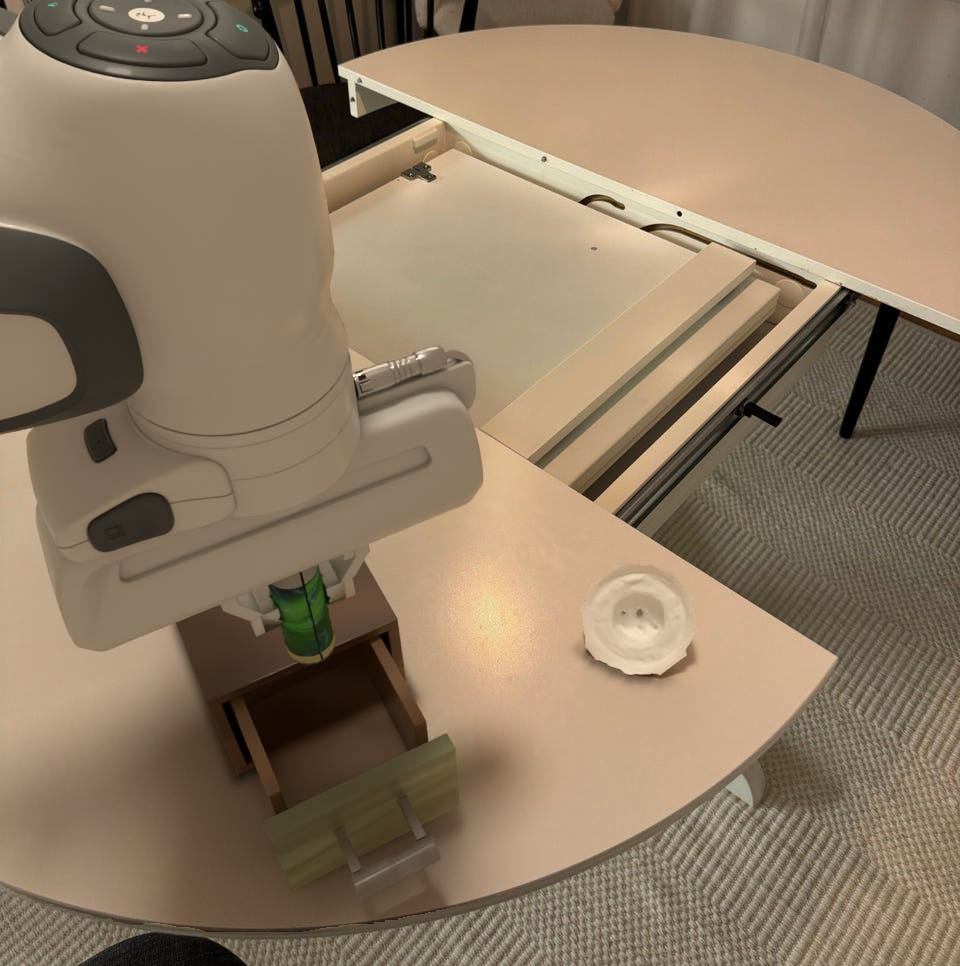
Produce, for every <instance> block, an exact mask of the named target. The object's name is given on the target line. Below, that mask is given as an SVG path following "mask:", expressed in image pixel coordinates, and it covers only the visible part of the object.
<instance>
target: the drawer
mask: <svg viewBox="0 0 960 966" xmlns="http://www.w3.org/2000/svg"><path fill="white" fill-rule="evenodd" d="M406 683H407V682H406ZM406 683H405V681H404V679H403V677H402V675H401V673H400V672H399V670H398V668H397V666H396V664H395V662H394V660H393V659H392V657H391V655H390V653H389V651H388V649H387V648H386V646H385V644H384V642H383V640H382V638H381V637H380V635H377V636H375V637H373V638H370V639H368V640H366V641H364V642H361V643H359V644H357V645H354V646H352V647H350V648H348V649H345V650H343V651H341V652H338V653H336V654H334V655H332V656H329V657H327V658H326V659H324V660H323V661H321V662H319V663H315V664H311V665H309V666H306V667H304V668H302V669H299V670H297V671H295V672H293V673H290V674H288V675H286V676H283V677H281V678H279V679H277V680H274V681H272V682H270V683H267V684H265V685H263V686H261V687H258V688H256V689H254V690H251V691H249V692H247V693H245V694H242V695H240V696H238V697H235V698H233V699H231V700H230V703H231V705H232V708H233V710H234V713H235V715H236V718H237V721H238V723H239V726H240V728H241V731H242V733H243V736H244V738H245V741H246V743H247V746H248V748H249V751H250V754H251V756H252V759H253V761H254V764H255V766H256V767H255V768H256V771H257V774H258V777H259V779H260V782H261V784H262V786H263V789H264V791H265V794H266V797H267V799H268V801H269V804H270V807H271V809H272V811H273V814H274V816H271V817H270V818H267V819H265V820H264V821H263V825H264V828H265V830H266V834H267V836H268V839H269V841H270V843H271V846H272V848H273V850H274V852H275V854H276V857H277V860H278V861H279V864H280V866H281V869H282V871H283V873H284V875H285V877H286V878H285V879H286V880H287V882H288V885H289V886H290V889H291V891H296V890H297V889H300V888H301V887H303V886H305V885H307V884H309V883H311V882H313V881H315V880H317V879H319V878H321V877H323V876H325V875H327V874H329V873H331V872H333V871H335V870H337V869H339V868H341V867H342V866H344V865H346V864H347V865H348V868H349V870H350V872H351V875H349V879H350V882H351V884H352V887H353V889H354V892H355V894H356V896H357V899H358V900H359V902H363V901H366V900H367V899H370V898H371V897H373V896H375V895H377V894H379V893H380V892H383V891H384V890H387V889H388V888H390V887H392V886H394V885H396V884H398V883H399V882H401V881H403V880H405V879H407V878H409V877H411V876H413V875H415V874H416V873H419V872H420V871H422V870H424V869H426V868H428V867H430V866H432V865H435V863H438V862H439V861H441V860H442V856H441V853H440V850H439V848H438V845H437V844H436V842H435V840H434V838H433V836H432V835H431V834H428V835H427V833H426V832H425V830H424V827H423V825H425V824H427V823H429V822H430V821H432V820H434V819H437V818H439V817H440V816H443V815H444V814H446V813H448V812H451V811H452V810H455V809H456V808H458V807H460V793H459V780H458V779H459V778H458V765H457V763H458V762H457V749H456V746H455V744H454V743H453V741H452V739H451V738H450V736H449V734H448V733H447V732H446V733H443V734H441V735H439V736H437V737H435V738H433V739H430V740H429V733H428V725H427V723H428V722H427V719H426V718H425V716H424V713H423V712H422V710H421V708H420V707H419V705H418V702H417V701H416V699H415V697H414V696H413V693H412V692H411V690H410V688H409V686H408V685H407V684H408V683H407V684H406ZM408 832H411V834H412V836H413V837H414V840H415V841H414V842H413V843H411V844H409V845H407V846H405V847H402V848H401V849H399V850H397V851H395V852H393V853H391V854H389V855H388V856H386V857H383V858H381V859H380V860H377V861H376V862H374V863H372V864H370V865H367V866H366V867H364V868H363V867H362V864H361V862H360V860H359V858H360V857H362V856H364V855H366V854H368V853H371V852H372V851H374V850H376V849H378V848H380V847H382V846H384V845H386V844H388V843H390V842H392V841H393V840H395V839H397V838H399V837H402V836H403V835H405V834H407V833H408Z"/></svg>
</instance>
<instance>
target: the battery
mask: <svg viewBox="0 0 960 966" xmlns="http://www.w3.org/2000/svg"><path fill="white" fill-rule="evenodd" d="M268 587H269V591H270V594H271V597H272V598H273V599H274V601H275V602H276V604H277V606H278V608H279V612H280V615H281V616H280V617H281V619H282V622H283V625H281V626H280V628H281V631H282V635H283V638H284V641H285V645H286V648H287V651H288V653H289V655H290V657H291V658H292V659H293V660H295V661H296V662H298V663H301V664H315V663H319V662H321V661H323V660H324V659H326V658H327V657H328V656H329V655H330V654H331V653H332V651H333V649H334V647H335V635H334V631H333V626H332V622H331V617H330V613H329V608H328V604H327V600H326V596H325V591H324V587H323V583H322V577H321V573H320V569H319V564H318V565H316V566H314V567H311V568H309V569H306V570H304V571H301V572H299V573H296V574H294V575H292V576H289V577H287V578H284V579H282V580H279V581H277V582H274V583H272V584H269V585H268Z"/></svg>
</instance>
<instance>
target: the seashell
mask: <svg viewBox="0 0 960 966" xmlns="http://www.w3.org/2000/svg"><path fill="white" fill-rule="evenodd" d="M588 588H589V591H588V593H587V595H586V598H585V599H584V601H583V604H582V605H581V607H580V615H581V617H582V619H581V622H582V628H583V633H584V636H585V638H584V642H585V643H584V647H585V648H586V649H587V651H588V652H589V653H590V654H591V656H592V657H593V659H594V660H595V661H599V662H601V663H603V664H604V663H605V664H606V665H607V666H609V667H611V668H614V669H617V670H620V672H622V673H623V674H625V675H629V676H630V675H651V674H654V675H655V674H656V675H658V676H661V675H662V674H664V673H665V672H667V671H668V670H669V669H670V668H672V667H673V666H674V665H676V664H677V663H678V662H680V661H681V660H682V659H684V658H685V657H687V649H688V647H689V645H690V644H691V643H692V641H693V638H694V637H695V636H696V634H698V633H699V630H697V629H696V628H698V624H697V623H696V622H697V620H696V611H697V610H696V609H695V608H694V599H693V598H692V596H691V594H690V593H689V592H688V590H687V589H686V587H685V586H684V584H682V582H681V581H680V580H679V579H678V577H676V576H675V575H674V573H673V572H669V571H668V570H665V569H663V568H660V567H658V566H655V565H653V564H650V563H649V564H641V563H638V562H636V563H631V562H626V563H625V562H624V563H623V564H620V563H617V564H616V565H615V566H613V567H612V568H611V569H609V570H608V571H606V572H605V573H604V574H603V575H601V576H600V577H599V578H597V579H596V580H595V581H594V582H592V583H591V584H590V585H589V586H588Z"/></svg>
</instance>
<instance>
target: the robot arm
mask: <svg viewBox="0 0 960 966" xmlns="http://www.w3.org/2000/svg"><path fill="white" fill-rule="evenodd" d="M333 237H334V236H333V230H332V223H331V218H330V212H329V206H328V200H327V194H326V189H325V182H324V178H323V174H322V169H321V164H320V159H319V154H318V151H317V145H316V143H315V138H314V135H313V131H312V127H311V122H310V119H309V116H308V113H307V110H306V106H305V103H304V100H303V98H302V94H301V91H300V88H299V86H298V83H297V80H296V78H295V76H294V73H293V70H292V69H291V67H290V65H289V63H288V61H287V59H286V57H285V56H284V54H283V52H282V51H281V49H280V48H279V46H278V45H277V43H276V41H275V40H274V39H273V37H272V36H271V34H270V33H269V32H267V30H265V28H264V27H263V26H261V24H259V23H258V22H257V21H256V20H255V19H254V18H252V17H251V16H250V15H248V14H247V13H246V12H244V11H243V10H241V9H240V8H238V7H236V6H235V5H232V4H230V3H228V2H226V1H225V0H31V1H29V2H28V3H27V4H26V5H25V6H24V7H23V8H22V9H21V10H20V12H19V13H16V12H14V11H11V10H9V9H6V8H3V7H1V6H0V436H1V435H6V434H11V433H15V432H20V431H25V430H28V429H29V430H30V429H31V430H30V431H29V432H28V433H27V435H26V439H25V445H26V457H27V458H26V459H27V466H28V467H27V468H28V472H29V477H30V482H31V486H32V490H33V495H34V497H35V500H36V505H35V523H36V528H37V533H38V538H39V541H40V546H41V549H42V554H43V557H44V562H45V566H46V570H47V573H48V577H49V580H50V583H51V587H52V589H53V593H54V596H55V600H56V604H57V606H58V610H59V613H60V615H61V619H62V621H63V624H64V627H65V629H66V631H67V634H68V635H69V637H70V640H71V642H72V643H73V644H74V646H75V647H77V648H79V649H83V650H87V651H92V652H100V653H102V652H107V651H110V650H113V649H115V648H118V647H119V646H122V645H124V644H127V643H129V642H131V641H134V640H137V639H139V638H142V637H144V636H146V635H149V634H151V633H154V632H157V631H159V630H161V629H163V628H166V627H168V626H172V625H174V624H176V622H178V621H181V620H183V619H186V618H188V617H191V616H193V615H196V614H198V613H201V612H203V611H206V610H208V609H210V608H213V607H215V606H218V605H221V607H222V610H223V611H224V612H227V613H230V614H232V615H235V616H237V617H240V618H242V619H245V620H248V621H250V624H251V626H252V628H253V631H254V633H255V635H256V636H259V635H262V634H264V633H265V632H268V631H270V630H272V629H274V628H277V627H279V626H281V625H283V622H282V619H281V617H280V616H281V615H280V612H279V608H278V606H277V604H276V602H275V601H274V599H273V598H272V597H271V594H270V591H269V587H268V585H269V584H272V583H274V582H277V581H279V580H282V579H284V578H287V577H289V576H292V575H294V574H296V573H299V572H301V571H304V570H306V569H309V568H311V567H314V566H316V565H318V564H319V569H320V573H321V577H322V583H323V587H324V591H325V596H326V600H327V603H328V605H332V604H334V603H337V602H339V601H342V600H344V599H346V598H349V597H352V596H354V595H355V589H354V584H353V577H355V575H356V573H357V572H358V570H359V568H360V567H361V565H362V563H363V562H364V560H365V561H366V558H367V556H368V555H369V554H370V551H371V549H370V544H373V543H375V542H377V541H380V540H381V539H385V538H388V537H390V536H392V535H394V534H397V533H400V532H402V531H404V530H407V529H409V528H412V527H414V526H416V525H417V526H418V525H420V524H421V523H424V522H427V521H430V520H432V519H434V518H437V517H439V516H441V515H444V514H446V513H448V512H449V513H450V512H452V511H454V510H456V509H460V508H461V507H464V506H466V505H467V504H469V503H470V502H472V501H473V499H474V498H475V497H476V495H477V494H478V492H479V491H480V489H481V488H482V486H483V485H484V469H483V460H482V454H481V449H480V444H479V440H478V436H477V435H478V434H477V432H476V429H475V424H474V421H473V419H472V417H471V414H470V412H469V411H470V409H471V408H472V406H473V405H474V402H475V400H476V396H477V387H476V385H477V384H476V382H477V381H476V368H475V365H474V362H473V360H472V359H471V357H469V356H468V354H466V353H465V352H462V351H460V350H456V349H447V350H445V349H444V348H443V347H442V346H441V345H432V346H431V345H430V346H426V347H423V348H419V349H418V350H416V351H413V352H412V353H411V354H410V355H406V356H404V357H401V358H399V359H394V360H388V361H384V362H380V363H377V364H375V365H371V366H367V367H365V368H362V369H359V370H356V371H353V366H352V360H351V359H352V358H351V353H350V346H349V338H348V334H347V330H346V326H345V323H344V321H343V319H342V317H341V315H340V312H339V310H338V309H337V307H336V305H335V304H334V302H333V299H332V295H331V281H332V276H333V271H334V263H335V247H334V245H335V244H334V238H333Z"/></svg>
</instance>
